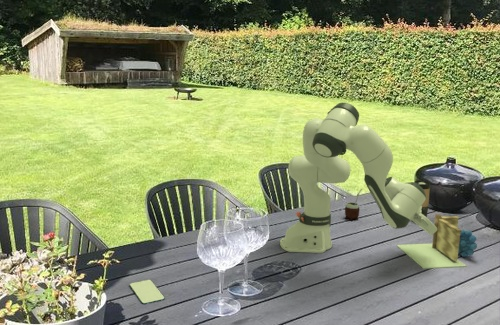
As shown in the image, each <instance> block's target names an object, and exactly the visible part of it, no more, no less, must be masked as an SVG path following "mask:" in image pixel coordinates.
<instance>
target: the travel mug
mask: <svg viewBox="0 0 500 325" xmlns="http://www.w3.org/2000/svg"><path fill="white" fill-rule="evenodd" d="M414 182H415V183H417V184H418V185H420V186H421V187H422V188H423V190H424V191H425V194H426V200H425V201H424V203H423V204H422V205H421V206H422V209H421V210H422V212H421V214H423V215H424V216H426V217H427V218H428V210H429V202H430V190H431V182H430V181H426V180H414ZM411 222H412V223H414V222H413V221H411Z"/></svg>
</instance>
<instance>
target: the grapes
mask: <svg viewBox="0 0 500 325" xmlns="http://www.w3.org/2000/svg"><path fill="white" fill-rule="evenodd" d="M476 241H477V236H476V235H475V234H473V232H472V230H470V229H469V230H468V229H467V230H465V229H461V232H460V241H459V250H458V255H461V256H462V257H463V258H466V257H468V256H470V257H471V256H473V255H474V252H475V250H476V249H477V248H478V244H477V243H476Z"/></svg>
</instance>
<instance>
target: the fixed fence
mask: <svg viewBox="0 0 500 325" xmlns="http://www.w3.org/2000/svg"><path fill="white" fill-rule="evenodd" d="M438 219H444V220H445V221H447V222H449V223H450V224H452V225H454V226H455V227H457V228H458V227H459V220H460V217H459V216H457V215H454V216H452V215H450V216H442V215H441V214H435V215H434V223H433V224H434V225H435V226H436V227H437V231H436V232H435V233H434V234H433V235H432V243H433V244H432V248H434V249H437V248H436V242H437V232H438V222H439V221H438Z"/></svg>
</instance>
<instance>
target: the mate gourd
mask: <svg viewBox="0 0 500 325" xmlns="http://www.w3.org/2000/svg"><path fill="white" fill-rule="evenodd" d="M362 190H363V189H362V188H361V189H360V190H359V191H358V193H357V194H356V198H355V202H348V203H346V204H345V208H344V215H345V220H350V221H349V222H352V221H354V220H355V221H359V215H360V205H359V204H358V203H357V202H358V198H359V196H360V193H361V192H362Z"/></svg>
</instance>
